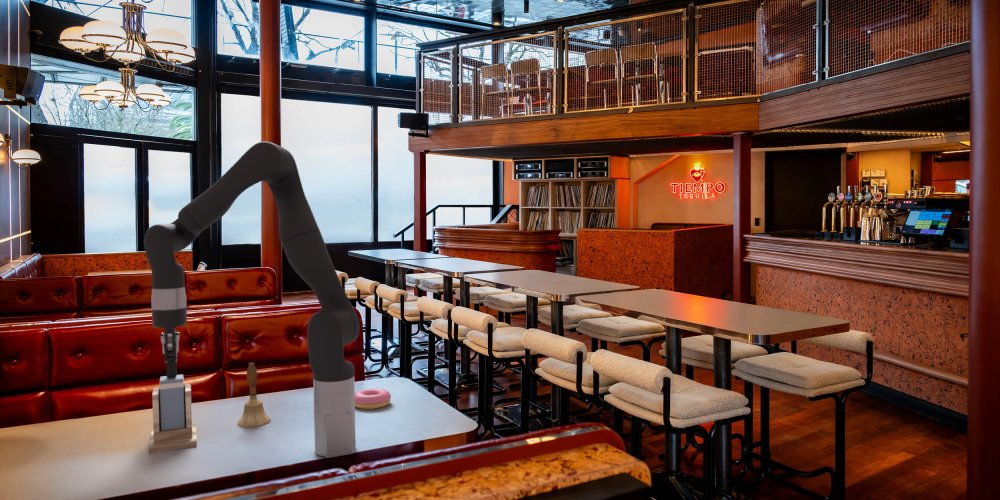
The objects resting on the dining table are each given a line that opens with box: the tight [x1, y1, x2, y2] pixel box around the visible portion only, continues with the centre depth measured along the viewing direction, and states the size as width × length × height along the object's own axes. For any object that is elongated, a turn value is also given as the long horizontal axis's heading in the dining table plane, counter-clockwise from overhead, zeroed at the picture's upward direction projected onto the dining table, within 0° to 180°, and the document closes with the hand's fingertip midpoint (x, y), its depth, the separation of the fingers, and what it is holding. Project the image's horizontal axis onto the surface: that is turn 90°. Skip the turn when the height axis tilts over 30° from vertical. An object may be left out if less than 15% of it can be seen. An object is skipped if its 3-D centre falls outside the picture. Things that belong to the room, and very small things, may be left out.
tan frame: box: [148, 383, 198, 454], centre depth 156 cm, size 14×10×13 cm
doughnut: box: [355, 388, 392, 410], centre depth 185 cm, size 11×11×4 cm
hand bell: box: [237, 362, 271, 428], centre depth 170 cm, size 8×8×16 cm
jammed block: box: [159, 374, 185, 431], centre depth 156 cm, size 5×5×14 cm
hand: (171, 376), depth 155 cm, fingers closed
